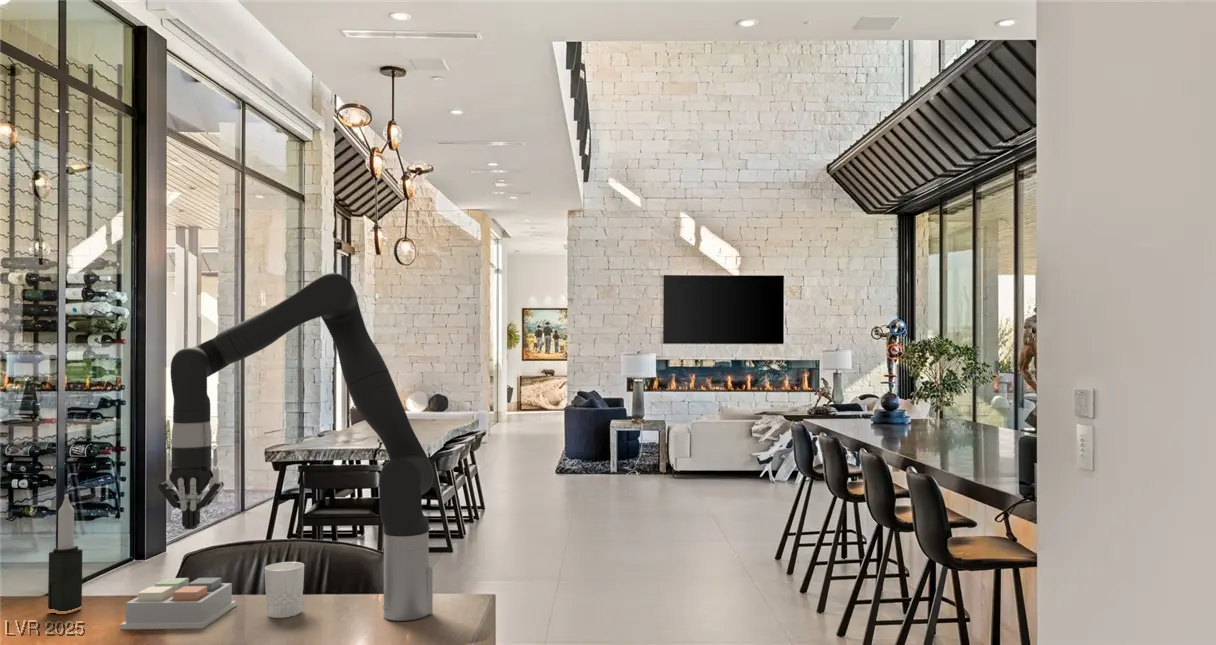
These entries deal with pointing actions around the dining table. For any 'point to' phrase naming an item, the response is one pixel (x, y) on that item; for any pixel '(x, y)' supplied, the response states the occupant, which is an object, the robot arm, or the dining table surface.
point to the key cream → (155, 594)
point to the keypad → (179, 611)
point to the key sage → (173, 583)
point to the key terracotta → (190, 593)
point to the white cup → (284, 589)
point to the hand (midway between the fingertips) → (190, 528)
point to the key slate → (207, 583)
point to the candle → (65, 564)
